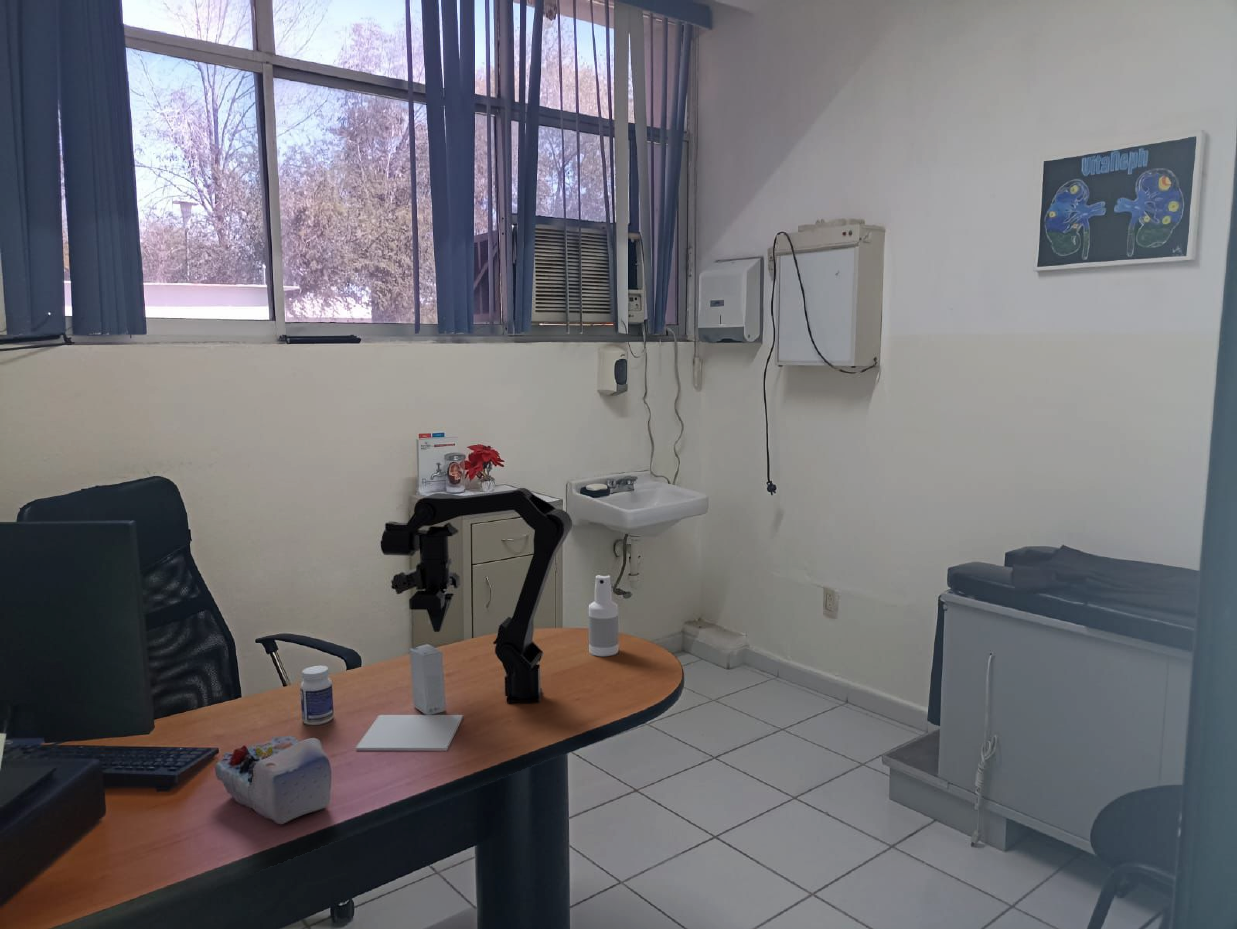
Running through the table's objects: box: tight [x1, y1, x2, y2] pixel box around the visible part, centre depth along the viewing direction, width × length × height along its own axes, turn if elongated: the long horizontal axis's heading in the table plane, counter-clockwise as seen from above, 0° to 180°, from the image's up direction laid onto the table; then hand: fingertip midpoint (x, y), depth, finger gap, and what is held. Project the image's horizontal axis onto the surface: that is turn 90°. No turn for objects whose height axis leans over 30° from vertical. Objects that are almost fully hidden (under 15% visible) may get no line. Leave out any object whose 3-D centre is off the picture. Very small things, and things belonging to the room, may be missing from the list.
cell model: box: [214, 735, 332, 825], centre depth 135 cm, size 13×11×20 cm
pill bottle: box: [299, 665, 335, 726], centre depth 165 cm, size 6×6×10 cm
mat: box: [355, 714, 464, 752], centre depth 159 cm, size 16×14×1 cm
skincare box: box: [409, 643, 447, 715], centre depth 169 cm, size 6×4×12 cm
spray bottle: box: [588, 574, 619, 657], centre depth 201 cm, size 7×7×18 cm
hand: (437, 631), depth 177 cm, fingers closed
